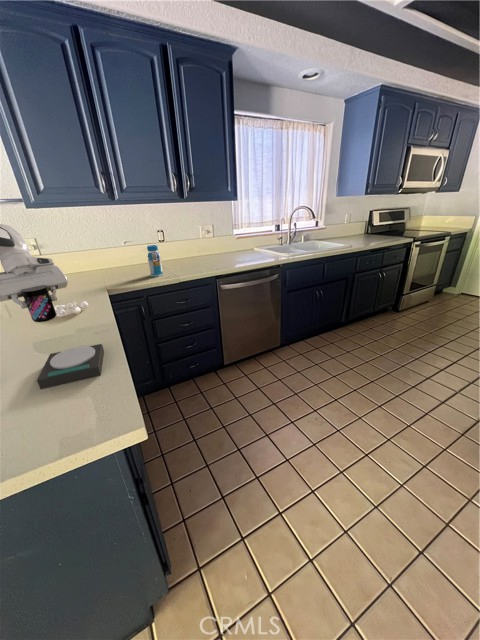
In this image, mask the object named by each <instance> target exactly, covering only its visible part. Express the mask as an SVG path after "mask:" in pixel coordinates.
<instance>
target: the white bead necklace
mask: <svg viewBox="0 0 480 640" xmlns="http://www.w3.org/2000/svg"><path fill="white" fill-rule="evenodd" d="M54 308H55V311H56V314H57V315H56V317H64V316H67V315H69V314H75V315H79V314H80V313H81V312H82V311H81V310H86V309H88V308H89V303H88V301H84V300H83V301H80V302H79V304H77V300H75V301H73V302H69V303H66V305H64V304H59V305H57V304H55V305H54ZM67 309H68V310H67ZM71 309H72V310H71Z"/></svg>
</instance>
